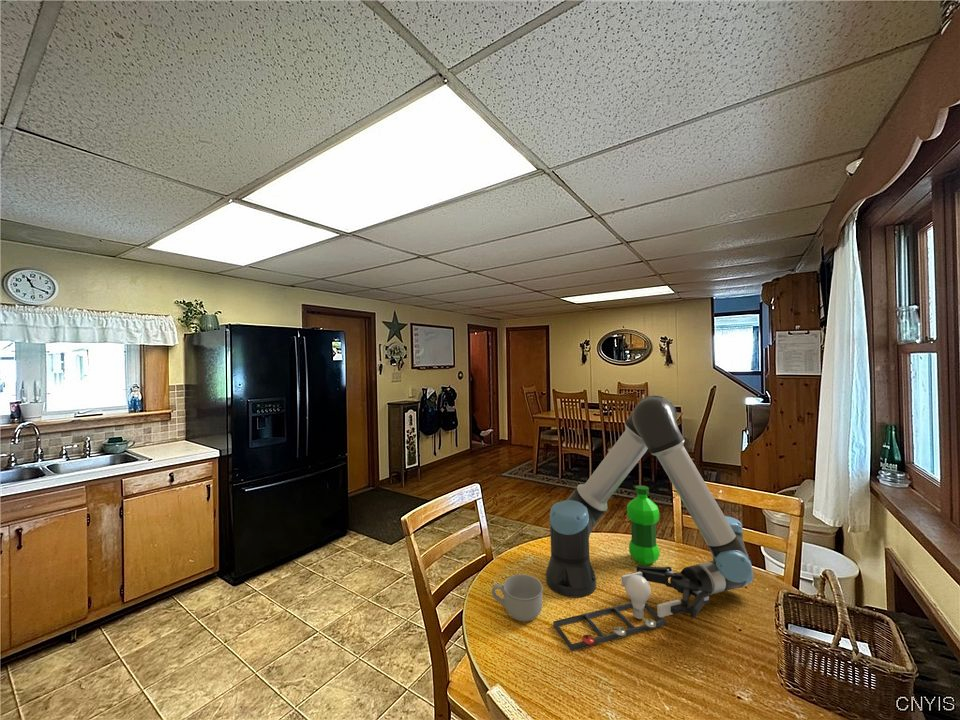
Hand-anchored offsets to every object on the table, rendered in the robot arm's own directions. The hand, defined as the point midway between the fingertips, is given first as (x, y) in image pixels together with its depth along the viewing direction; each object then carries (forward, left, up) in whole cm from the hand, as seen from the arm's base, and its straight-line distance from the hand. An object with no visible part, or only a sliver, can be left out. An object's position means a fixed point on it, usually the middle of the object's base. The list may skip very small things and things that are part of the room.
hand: (639, 595), depth 100 cm
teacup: (-13, -30, -7) cm, 33 cm away
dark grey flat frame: (-1, -9, -6) cm, 11 cm away
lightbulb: (-1, 0, -7) cm, 7 cm away
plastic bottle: (-24, +22, -7) cm, 33 cm away
